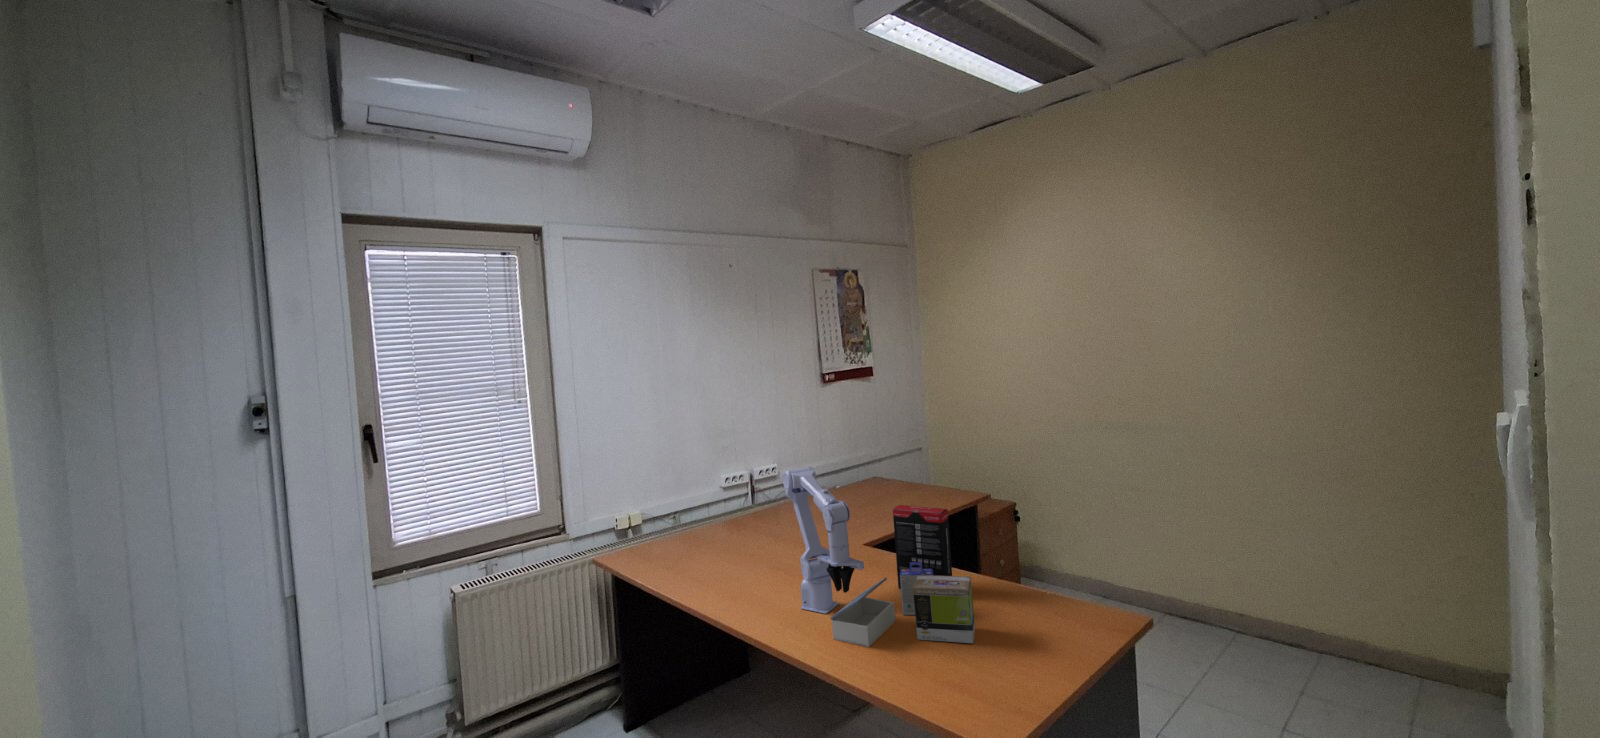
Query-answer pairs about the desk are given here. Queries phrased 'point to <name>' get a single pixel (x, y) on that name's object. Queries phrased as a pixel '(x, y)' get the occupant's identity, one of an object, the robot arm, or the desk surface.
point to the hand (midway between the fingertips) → (842, 590)
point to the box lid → (858, 598)
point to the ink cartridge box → (910, 586)
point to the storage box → (864, 622)
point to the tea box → (944, 608)
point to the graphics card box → (922, 539)
